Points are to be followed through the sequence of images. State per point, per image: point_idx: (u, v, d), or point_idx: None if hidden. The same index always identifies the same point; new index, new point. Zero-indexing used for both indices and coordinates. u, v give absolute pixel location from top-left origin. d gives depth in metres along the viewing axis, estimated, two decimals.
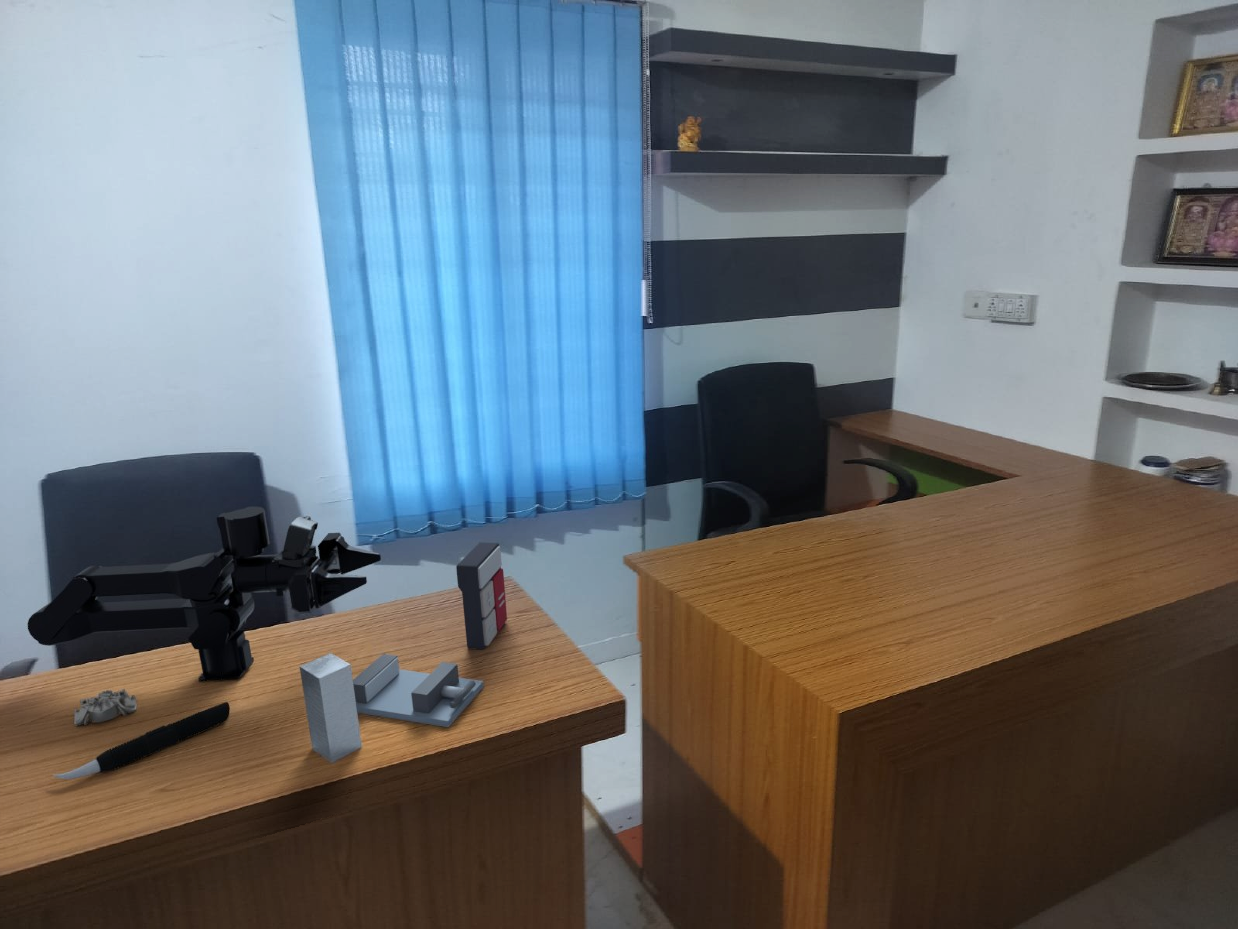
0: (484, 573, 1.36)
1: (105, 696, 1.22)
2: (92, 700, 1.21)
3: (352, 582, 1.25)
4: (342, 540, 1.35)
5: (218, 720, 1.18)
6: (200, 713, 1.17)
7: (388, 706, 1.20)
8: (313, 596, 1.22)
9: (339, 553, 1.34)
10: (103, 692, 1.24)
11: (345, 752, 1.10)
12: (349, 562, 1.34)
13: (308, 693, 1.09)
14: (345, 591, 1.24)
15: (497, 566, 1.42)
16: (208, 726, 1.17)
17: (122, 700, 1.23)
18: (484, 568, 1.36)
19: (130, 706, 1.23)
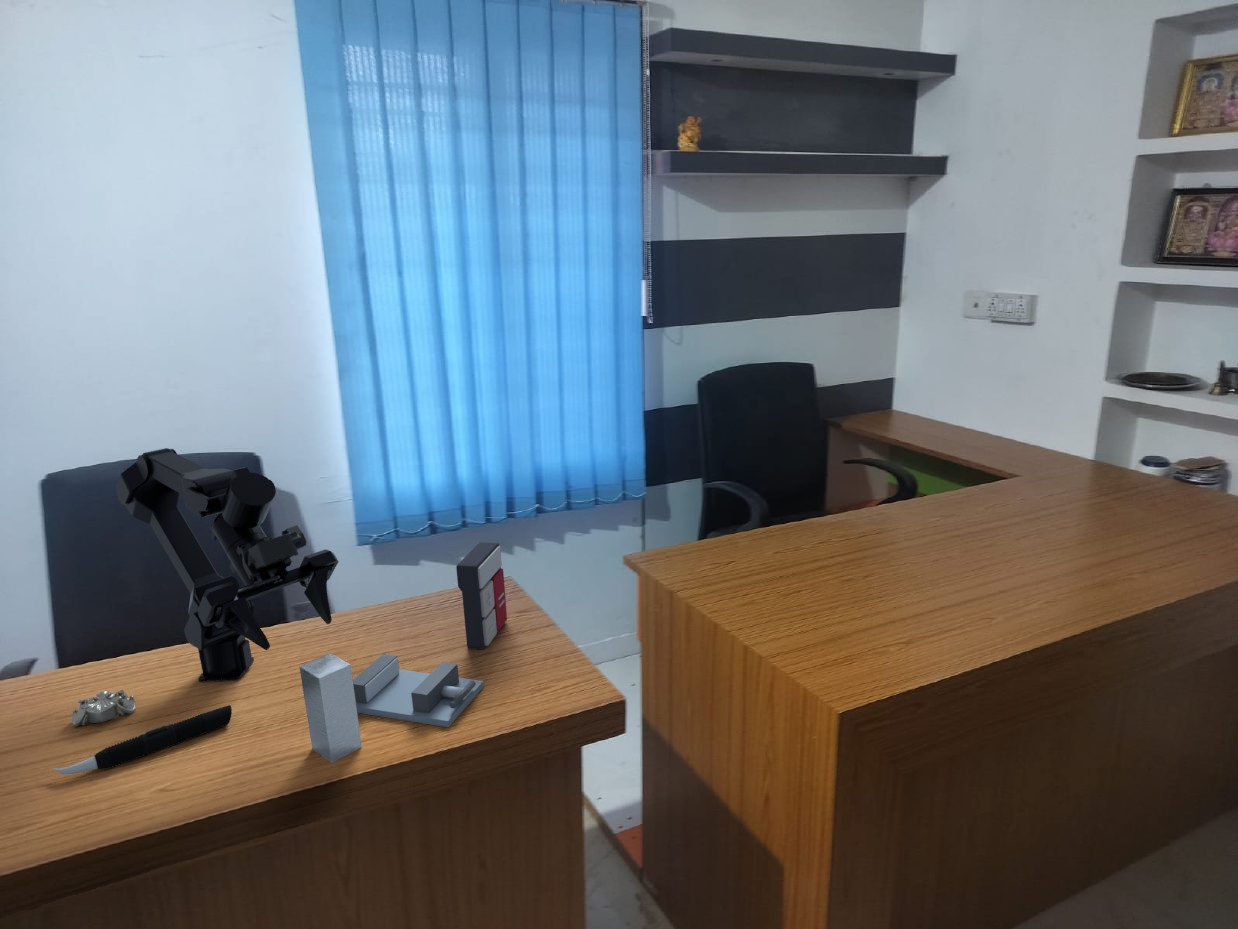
0: (484, 573, 1.36)
1: (103, 697, 1.22)
2: (90, 701, 1.21)
3: (257, 638, 1.10)
4: (324, 573, 1.18)
5: (219, 723, 1.17)
6: (202, 715, 1.16)
7: (388, 706, 1.20)
8: (218, 618, 1.10)
9: (311, 581, 1.19)
10: (101, 693, 1.24)
11: (345, 752, 1.10)
12: (312, 595, 1.19)
13: (307, 693, 1.09)
14: (247, 637, 1.11)
15: (497, 566, 1.42)
16: (209, 729, 1.16)
17: (120, 701, 1.23)
18: (484, 568, 1.36)
19: (128, 706, 1.23)
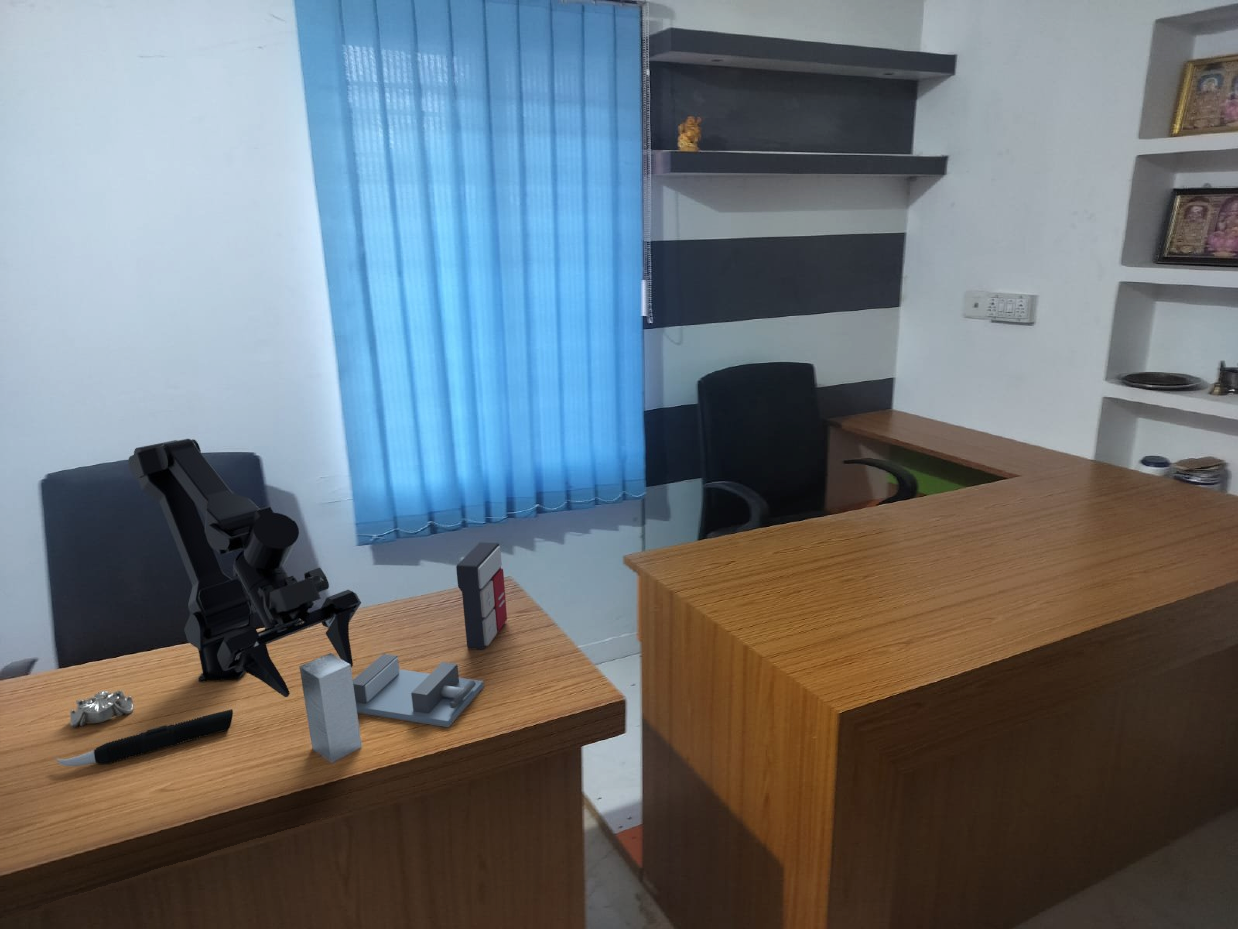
0: (484, 573, 1.36)
1: (101, 697, 1.22)
2: (88, 701, 1.20)
3: (276, 685, 1.08)
4: (346, 616, 1.15)
5: (219, 727, 1.16)
6: (202, 718, 1.16)
7: (388, 706, 1.20)
8: (237, 663, 1.07)
9: (333, 623, 1.16)
10: (99, 693, 1.23)
11: (345, 752, 1.10)
12: (333, 637, 1.16)
13: (307, 693, 1.09)
14: (267, 683, 1.08)
15: (497, 566, 1.42)
16: (208, 732, 1.15)
17: (118, 701, 1.23)
18: (484, 568, 1.36)
19: (126, 706, 1.23)
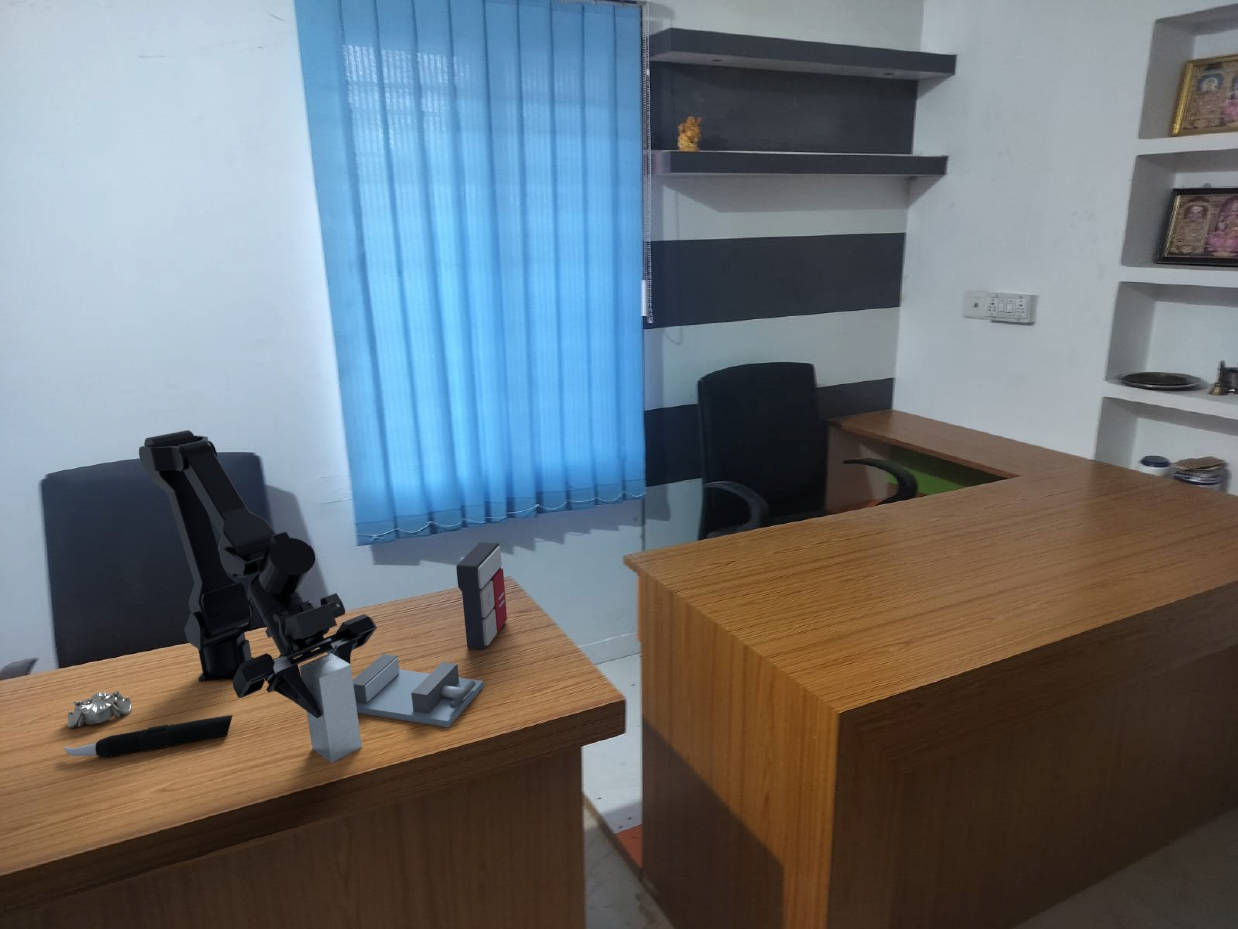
0: (484, 573, 1.36)
1: (99, 698, 1.22)
2: (86, 702, 1.20)
3: (308, 706, 1.08)
4: (348, 647, 1.12)
5: (216, 733, 1.15)
6: (202, 721, 1.15)
7: (388, 706, 1.20)
8: (269, 684, 1.07)
9: (334, 654, 1.13)
10: (96, 694, 1.23)
11: (345, 752, 1.10)
12: None
13: None
14: (298, 704, 1.08)
15: (497, 566, 1.42)
16: (205, 736, 1.14)
17: (116, 702, 1.23)
18: (484, 568, 1.36)
19: (124, 707, 1.23)
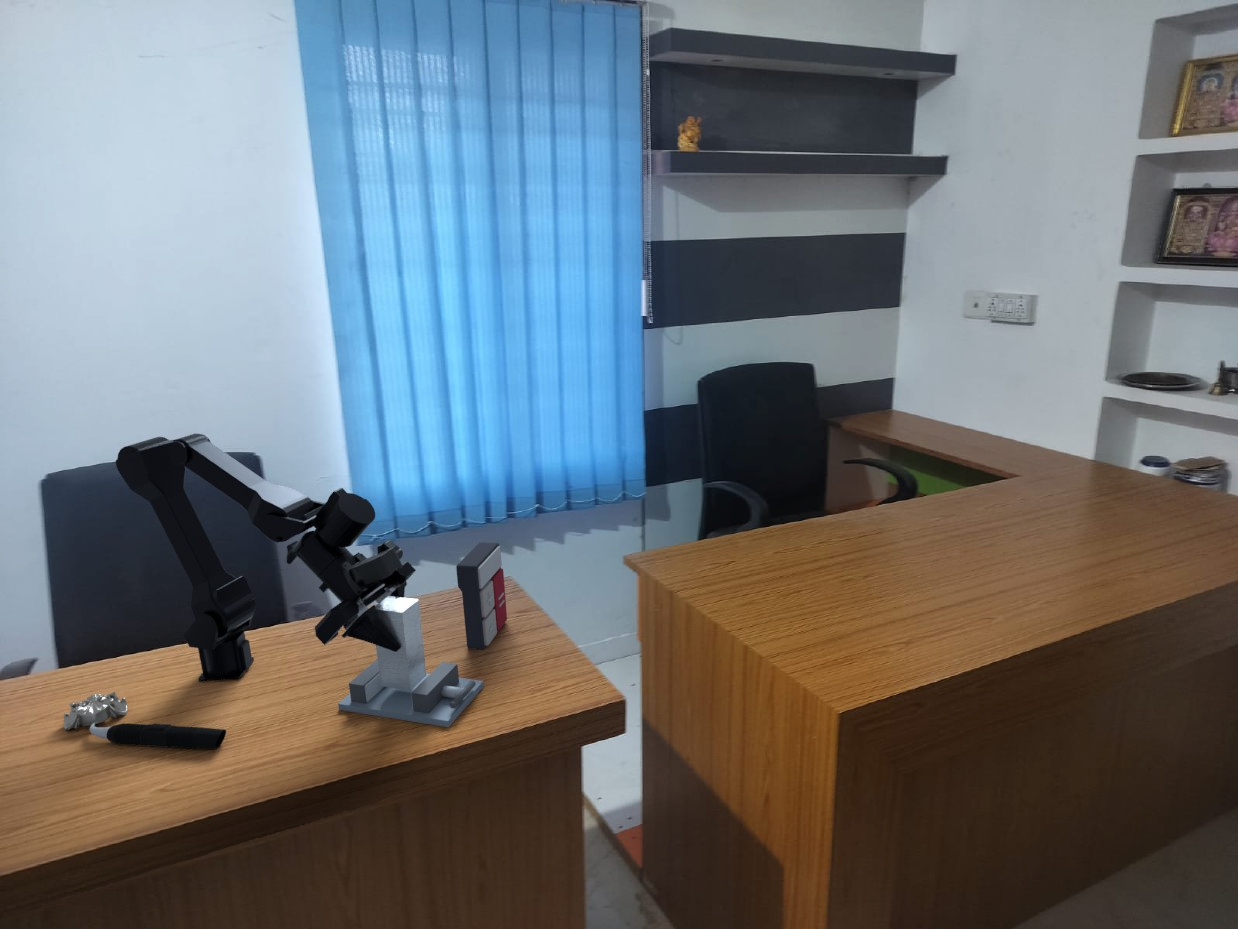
0: (484, 573, 1.36)
1: (95, 699, 1.21)
2: (82, 704, 1.20)
3: (386, 642, 1.18)
4: (402, 588, 1.24)
5: (204, 745, 1.12)
6: (195, 729, 1.13)
7: (388, 706, 1.20)
8: (348, 628, 1.16)
9: None
10: (92, 696, 1.23)
11: (417, 680, 1.22)
12: None
13: None
14: (375, 642, 1.18)
15: (497, 566, 1.42)
16: (195, 746, 1.12)
17: (112, 703, 1.22)
18: (484, 568, 1.36)
19: (120, 708, 1.22)
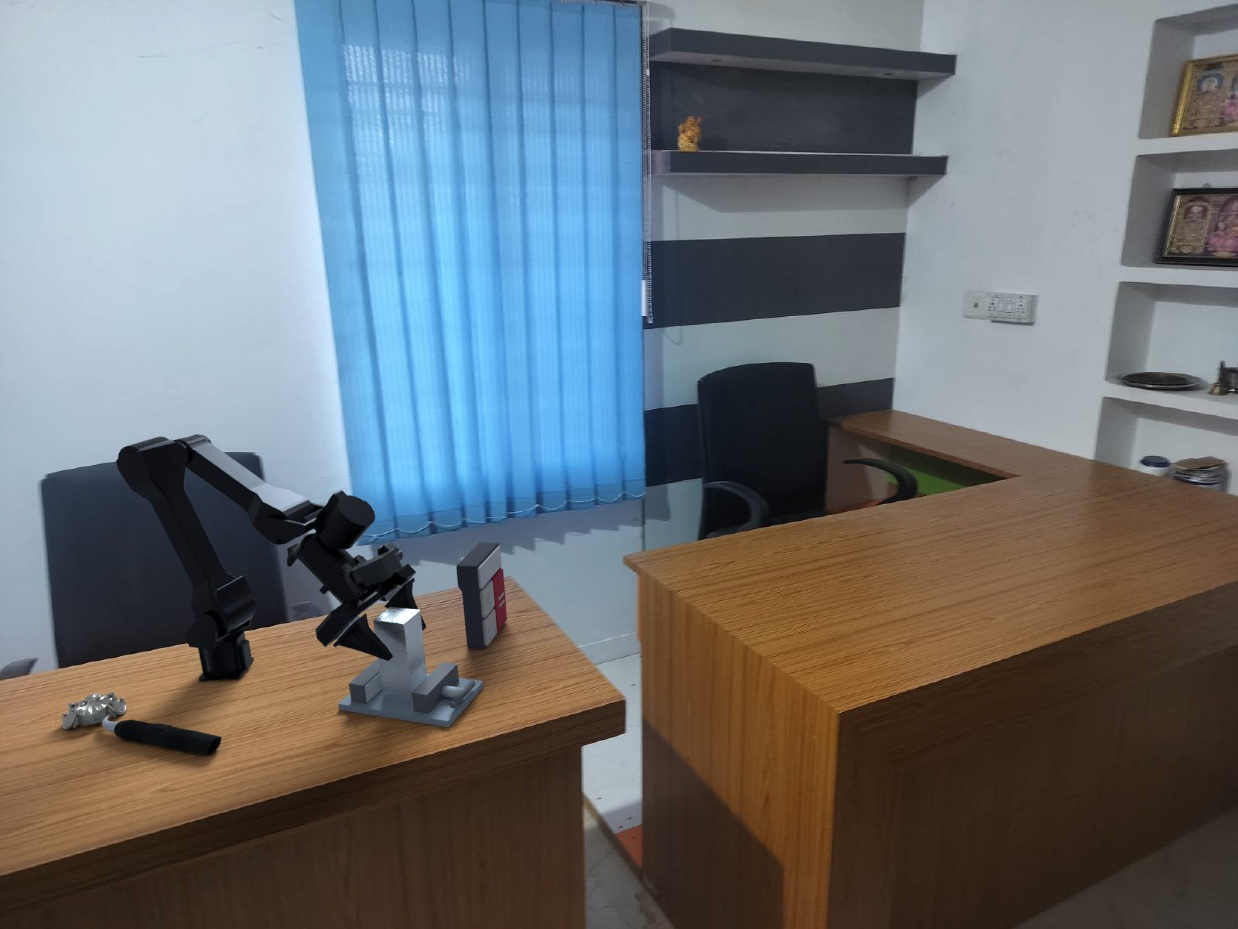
0: (484, 573, 1.36)
1: (93, 699, 1.21)
2: (81, 704, 1.20)
3: (379, 651, 1.16)
4: (410, 585, 1.26)
5: (198, 750, 1.11)
6: (192, 733, 1.12)
7: (388, 706, 1.20)
8: (339, 637, 1.14)
9: (398, 593, 1.25)
10: (90, 696, 1.23)
11: None
12: (399, 607, 1.26)
13: None
14: (367, 652, 1.16)
15: (497, 566, 1.42)
16: (190, 750, 1.11)
17: (111, 703, 1.22)
18: (484, 568, 1.36)
19: (119, 708, 1.23)
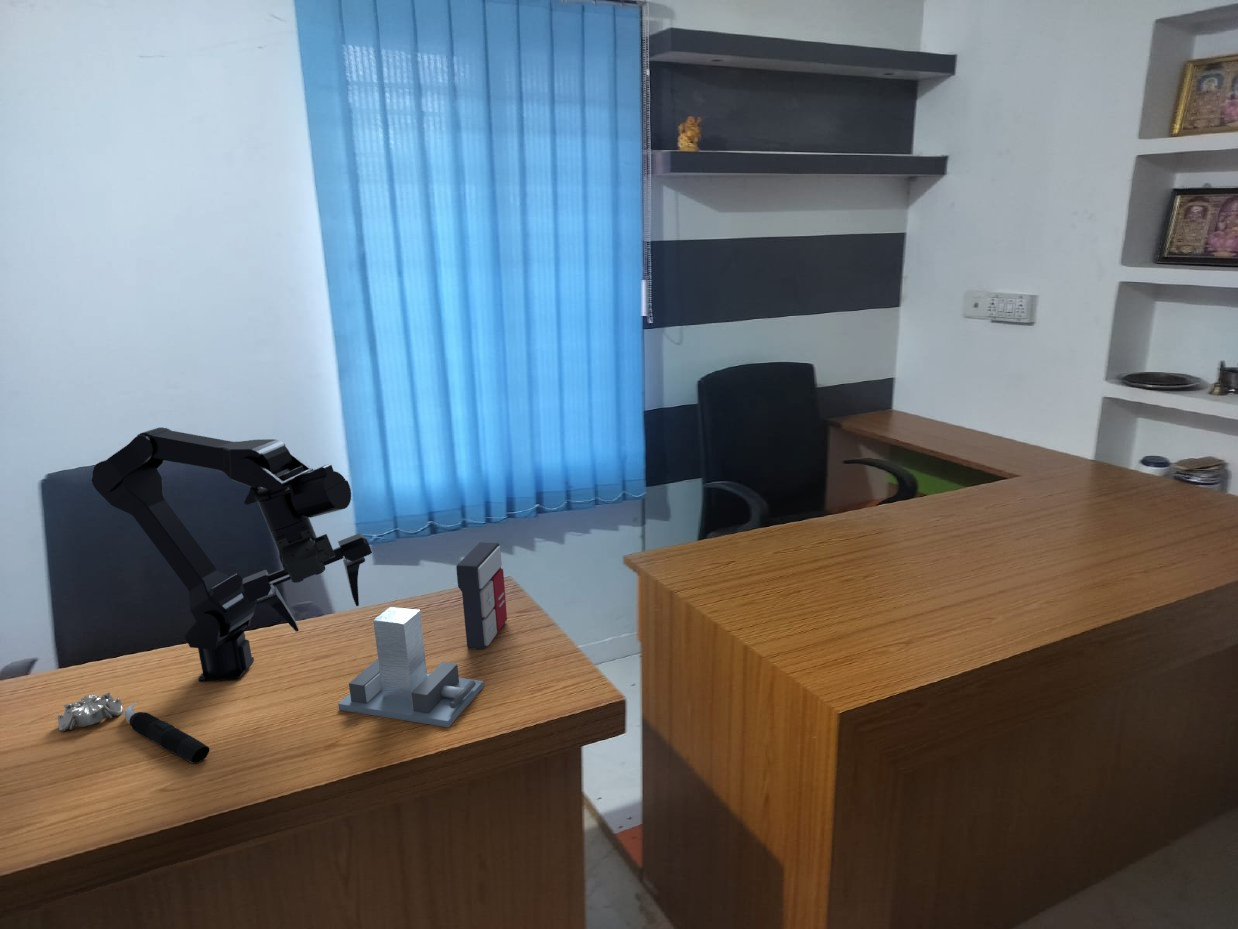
0: (484, 573, 1.36)
1: (89, 700, 1.21)
2: (77, 705, 1.20)
3: None
4: (355, 566, 1.24)
5: (185, 757, 1.09)
6: (184, 738, 1.11)
7: (388, 706, 1.20)
8: None
9: (345, 565, 1.25)
10: (86, 697, 1.23)
11: None
12: (346, 573, 1.27)
13: (383, 643, 1.19)
14: None
15: (497, 566, 1.42)
16: (179, 755, 1.10)
17: (107, 704, 1.22)
18: (484, 569, 1.36)
19: (115, 709, 1.22)
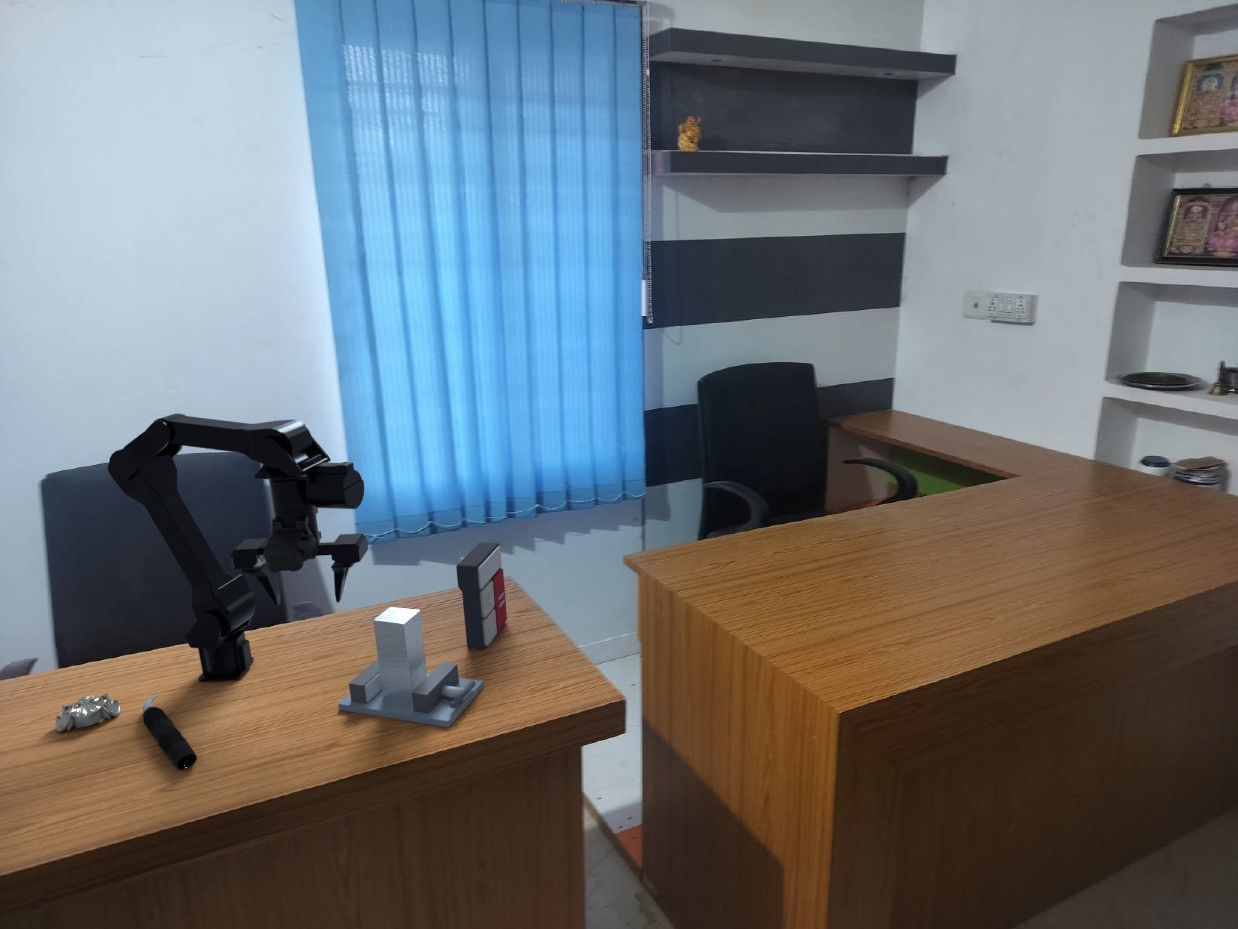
0: (484, 573, 1.36)
1: (87, 701, 1.21)
2: (74, 705, 1.19)
3: None
4: (341, 569, 1.23)
5: (173, 762, 1.09)
6: (176, 742, 1.10)
7: (388, 706, 1.20)
8: None
9: None
10: (83, 697, 1.22)
11: None
12: None
13: (383, 643, 1.19)
14: None
15: (497, 566, 1.42)
16: None
17: (105, 704, 1.22)
18: (484, 569, 1.36)
19: (113, 710, 1.22)
